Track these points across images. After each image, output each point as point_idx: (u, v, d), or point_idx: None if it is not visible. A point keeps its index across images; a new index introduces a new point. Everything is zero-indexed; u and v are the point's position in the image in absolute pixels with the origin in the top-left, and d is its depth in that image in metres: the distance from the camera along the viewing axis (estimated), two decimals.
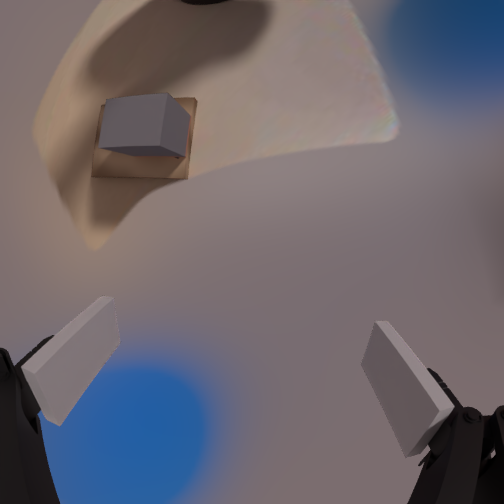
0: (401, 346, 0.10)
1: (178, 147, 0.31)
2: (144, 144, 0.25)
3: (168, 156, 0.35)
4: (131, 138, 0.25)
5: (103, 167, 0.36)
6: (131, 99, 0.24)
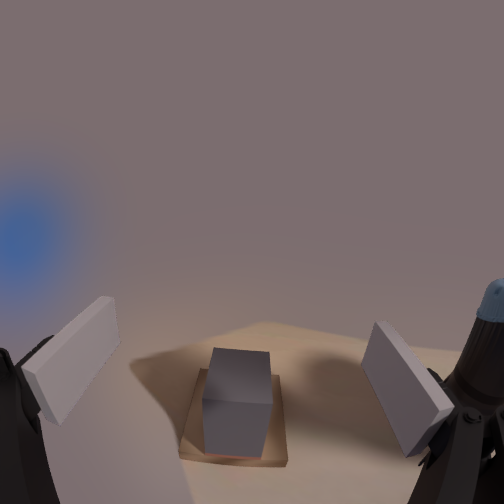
0: (401, 346, 0.10)
1: (211, 438, 0.22)
2: (206, 384, 0.22)
3: None
4: (217, 373, 0.24)
5: None
6: (266, 372, 0.25)
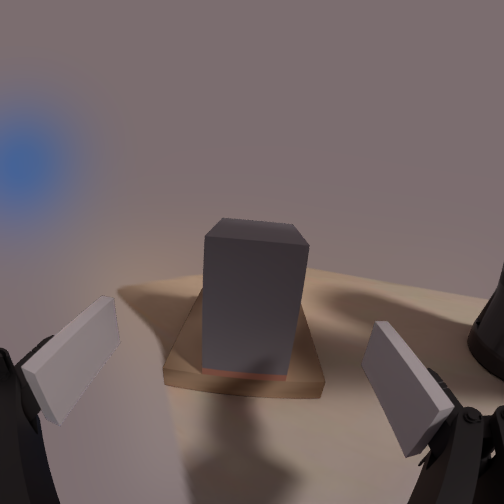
0: (401, 346, 0.10)
1: (213, 331, 0.17)
2: (212, 230, 0.17)
3: None
4: (227, 227, 0.19)
5: None
6: (292, 230, 0.20)
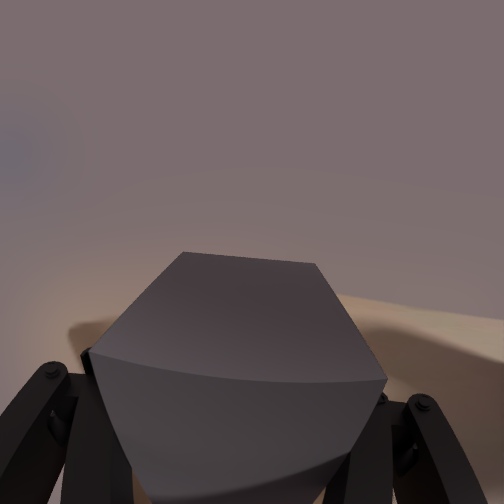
0: None
1: (161, 490, 0.06)
2: (127, 313, 0.06)
3: None
4: (174, 291, 0.08)
5: None
6: (322, 293, 0.09)
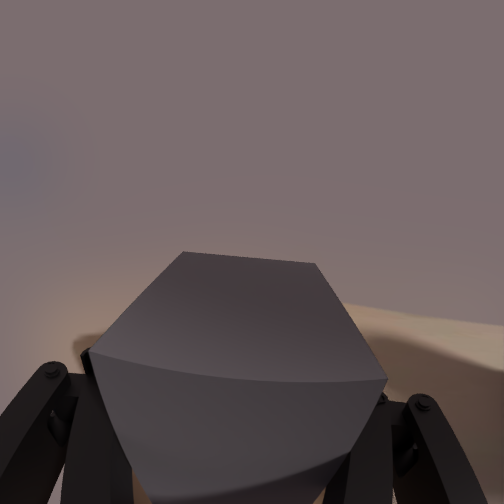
0: None
1: (161, 489, 0.06)
2: (127, 313, 0.06)
3: None
4: (174, 291, 0.08)
5: None
6: (323, 293, 0.09)
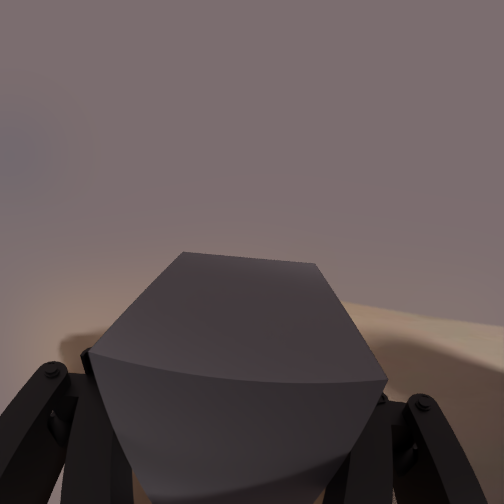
0: None
1: (161, 490, 0.06)
2: (127, 314, 0.06)
3: None
4: (174, 291, 0.08)
5: None
6: (323, 293, 0.09)
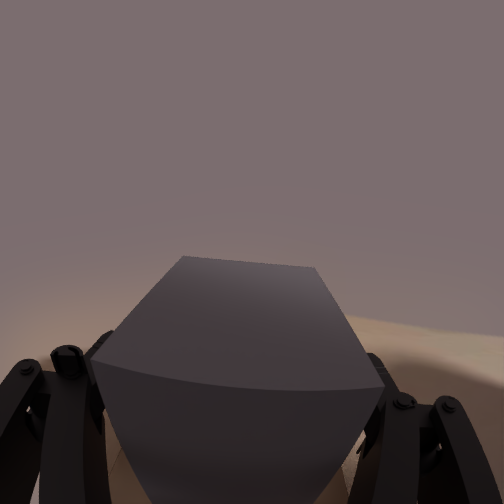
0: None
1: (162, 492, 0.06)
2: (128, 320, 0.06)
3: None
4: (174, 297, 0.08)
5: None
6: (322, 299, 0.09)
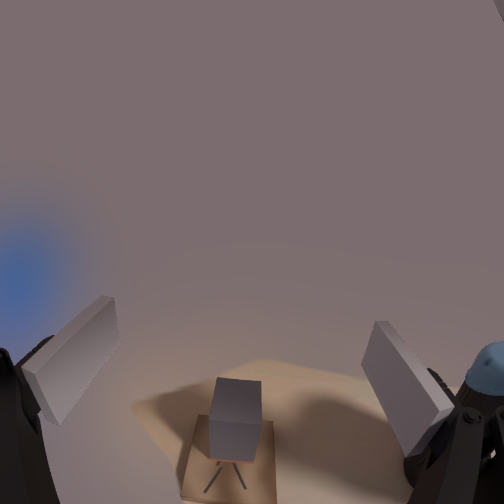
0: (401, 346, 0.10)
1: (215, 447, 0.28)
2: (212, 408, 0.28)
3: None
4: (220, 400, 0.30)
5: (205, 425, 0.35)
6: (257, 398, 0.31)
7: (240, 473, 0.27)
